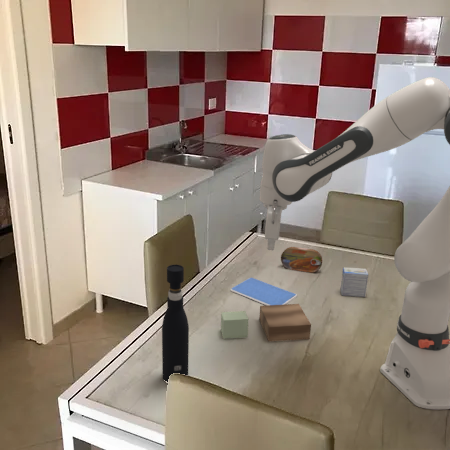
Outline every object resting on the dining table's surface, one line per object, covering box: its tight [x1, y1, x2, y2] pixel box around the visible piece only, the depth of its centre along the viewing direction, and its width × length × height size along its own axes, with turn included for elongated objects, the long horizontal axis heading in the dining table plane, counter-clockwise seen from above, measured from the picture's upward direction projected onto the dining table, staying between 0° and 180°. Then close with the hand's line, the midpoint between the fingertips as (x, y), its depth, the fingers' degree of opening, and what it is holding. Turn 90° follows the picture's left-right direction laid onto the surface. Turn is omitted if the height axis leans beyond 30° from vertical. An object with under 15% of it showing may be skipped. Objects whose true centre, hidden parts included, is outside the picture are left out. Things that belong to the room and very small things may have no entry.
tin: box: [280, 246, 323, 273], centre depth 189 cm, size 15×3×8 cm, turn 73°
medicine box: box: [340, 266, 369, 298], centre depth 172 cm, size 8×4×9 cm, turn 84°
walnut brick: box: [258, 303, 312, 342], centre depth 151 cm, size 12×12×5 cm
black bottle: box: [161, 264, 190, 382], centre depth 124 cm, size 6×6×30 cm
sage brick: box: [220, 310, 249, 340], centre depth 147 cm, size 4×7×6 cm, turn 99°
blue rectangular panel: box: [230, 277, 298, 306], centre depth 172 cm, size 19×13×1 cm, turn 51°
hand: (271, 242), depth 143 cm, fingers open, 8 cm apart
